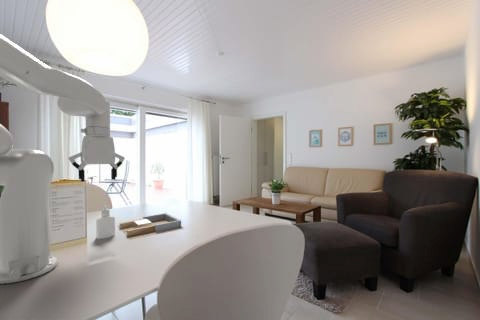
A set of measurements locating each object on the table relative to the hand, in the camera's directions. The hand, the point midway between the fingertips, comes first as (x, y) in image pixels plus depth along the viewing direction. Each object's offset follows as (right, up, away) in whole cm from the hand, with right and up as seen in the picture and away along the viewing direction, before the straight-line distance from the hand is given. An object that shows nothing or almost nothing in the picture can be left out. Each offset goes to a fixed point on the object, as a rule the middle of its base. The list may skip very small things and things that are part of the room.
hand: (98, 180), depth 82 cm
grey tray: (+18, -20, +13) cm, 30 cm away
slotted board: (+15, -21, +10) cm, 28 cm away
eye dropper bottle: (+3, -21, -1) cm, 22 cm away
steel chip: (+12, -20, +8) cm, 25 cm away
